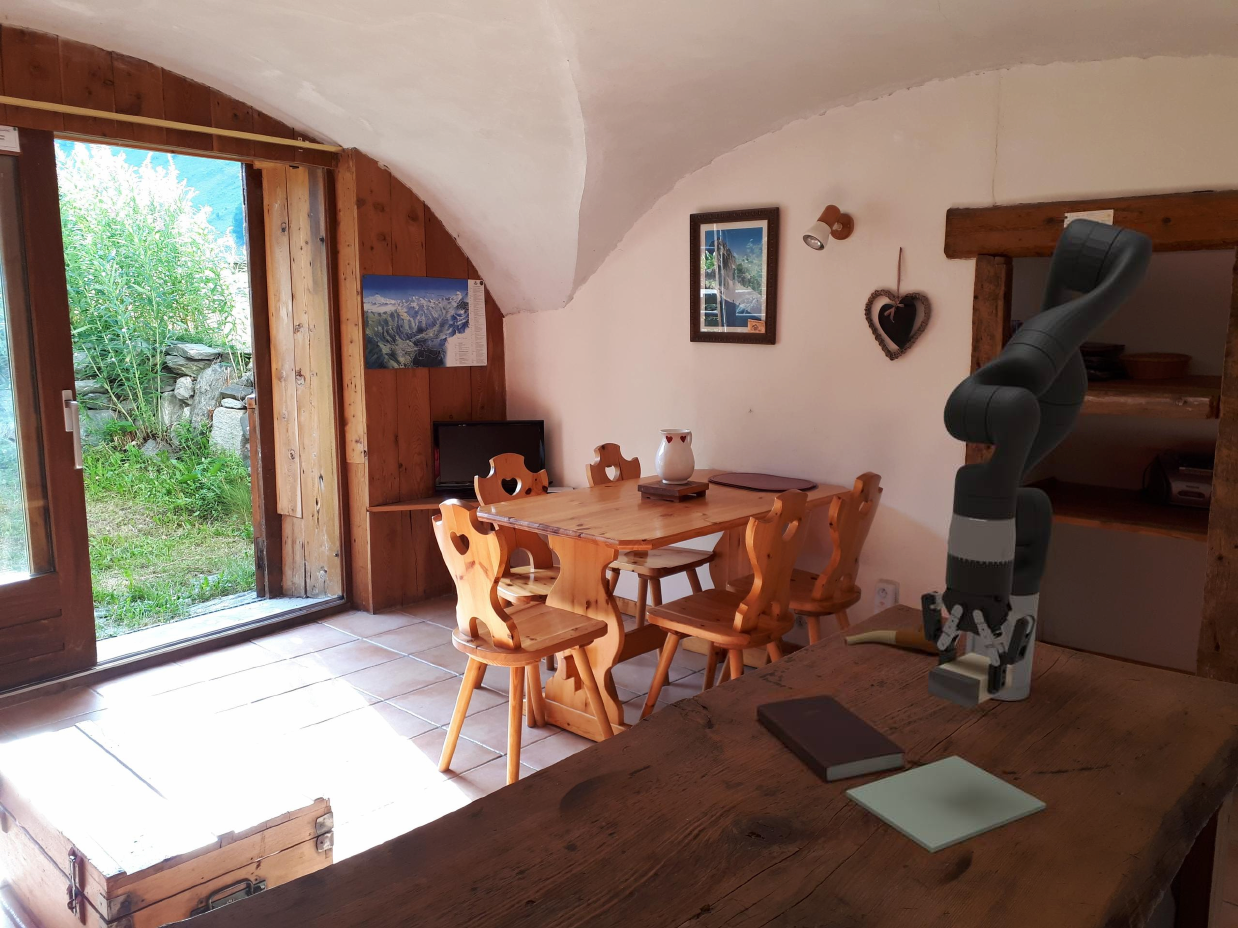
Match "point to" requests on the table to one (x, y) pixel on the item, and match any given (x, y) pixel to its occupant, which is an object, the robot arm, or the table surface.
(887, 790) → the rubber mat
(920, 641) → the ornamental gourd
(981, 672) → the cream rectangular block
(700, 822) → the table surface
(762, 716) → the book
